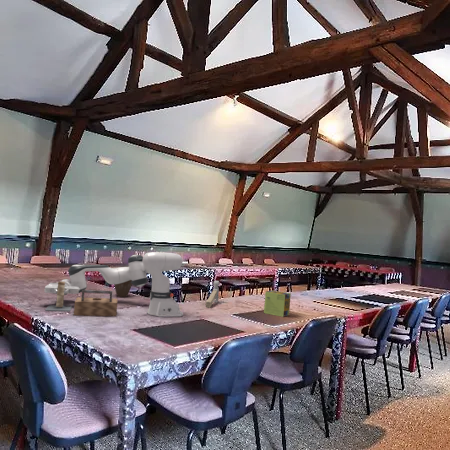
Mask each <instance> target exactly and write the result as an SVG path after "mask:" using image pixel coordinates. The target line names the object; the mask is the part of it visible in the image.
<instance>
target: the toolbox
mask: <svg viewBox="0 0 450 450" xmlns="http://www.w3.org/2000/svg"><path fill="white" fill-rule="evenodd" d="M85 293H86V294H105V295H106V294H109V297H106V298H105V297H103V298H101V297H85ZM117 311H118V298H113V290H99V289H98V290H97V289H96V290H95V289H94V290H93V289H85V290H82V292H81V296H80V297H79V296H77V297H76V298H75V300H74V308H73V316H84V317H117V314H118V313H117Z"/></svg>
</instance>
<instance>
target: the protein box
mask: <svg viewBox="0 0 450 450" xmlns="http://www.w3.org/2000/svg"><path fill="white" fill-rule="evenodd" d="M291 294H292V293H291V292H284V291H278V290H268V291H265V295H264V307H263V314H267V315H271V316H272V315H273V316H277V317H283V318H284V317H287V316H290V307H291V298H292V297H291V296H292V295H291Z"/></svg>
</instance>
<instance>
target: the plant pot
mask: <svg viewBox="0 0 450 450" xmlns="http://www.w3.org/2000/svg"><path fill="white" fill-rule="evenodd" d="M130 282H132V280H129V281H126V282H123V283H119V284H113V285H114V290H115V293H116V294H115V295H116V297H119V298H126V297H128V296H129V293H130V291H131V289H132V286H133V284H132V283H130Z"/></svg>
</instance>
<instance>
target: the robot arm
mask: <svg viewBox="0 0 450 450" xmlns="http://www.w3.org/2000/svg"><path fill="white" fill-rule="evenodd" d="M127 263H128V266H122V267H121V266H120V267H115V268H112V267H110V266H109V265H106V264H73V265H70V266H69V268H68V270H67V273H68V275H69V278H68V279H67V278H65V279H62V280H61V281H62V282H65V289H64V296H66V295H68V294H69V295H73V294H74V295H77V294H81V293H82V290H87V287H88V285H87V279H86V274H85V273H86V272H93V271H95V272H99V273H100V274H101V276H102V278H103V279H104V281H105V282H106V283H107V284H109V285H114V284H119V283H123V282H126V281H129V280H132V282H130V283H132V286H134V287H139V288H141V287H143V286H145V285H147V283H148V277H147V276H148V275H147V274H149V275H150V277H151V290H150V293H149V294H150V295H149V297H150V298H149V299H150V301H149V306H148V310H147V314H148V315H149V316H150V315H151V316H156V317H159V318H163V317H165V318H166V317H167V318H168V317H169V318H170V317H172V318H174V317H183V315H184V312H183V311H181V308H180V304H179V303H178V302H177V301H175V299H174V298H173V297H174V293H172V292H170V284H171V280H170V278H169V277H168V276H166V275H165V274H163V272H169V271H175V270H179V269H181V267H182V266H183V258H182V255H181V254H178V253H174V252H161V251H159V252H158V251H150V252H146V253H145V254H144V255H141V254H133V255H131V256H130V257H128V259H127ZM58 282H59V281H58ZM58 282H49V283H48V284H47V285H45V286H44V290H43V291H44V293H46V294H53V295H57V290H58Z"/></svg>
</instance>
